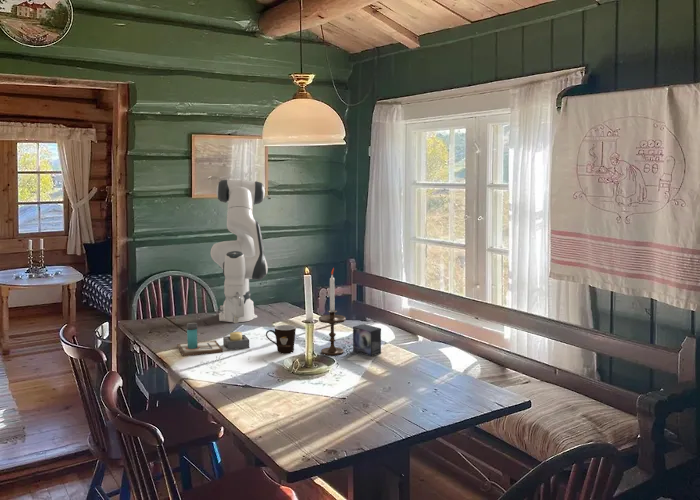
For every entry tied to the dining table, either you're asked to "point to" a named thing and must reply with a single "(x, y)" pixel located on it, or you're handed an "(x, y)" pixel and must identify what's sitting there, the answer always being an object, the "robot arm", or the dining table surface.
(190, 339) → the teal bottle
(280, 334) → the coffee mug
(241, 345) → the button housing
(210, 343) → the board
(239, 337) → the button cap
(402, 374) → the dining table surface
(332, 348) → the candlestick
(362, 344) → the small box
